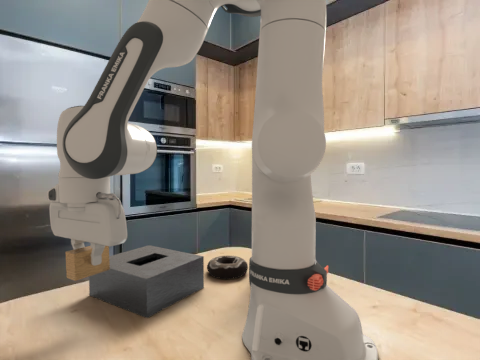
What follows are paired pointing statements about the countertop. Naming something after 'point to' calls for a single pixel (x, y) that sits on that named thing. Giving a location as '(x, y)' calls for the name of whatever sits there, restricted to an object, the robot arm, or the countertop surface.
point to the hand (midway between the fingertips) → (88, 262)
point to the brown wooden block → (84, 263)
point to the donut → (227, 267)
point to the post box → (148, 279)
